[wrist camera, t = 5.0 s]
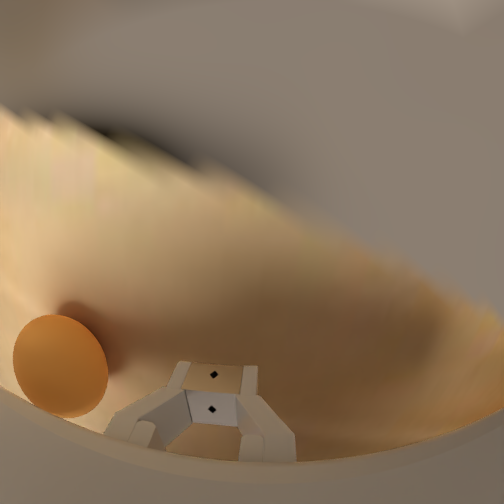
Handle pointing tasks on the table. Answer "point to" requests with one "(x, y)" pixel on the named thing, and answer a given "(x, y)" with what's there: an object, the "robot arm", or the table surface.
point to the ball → (60, 366)
